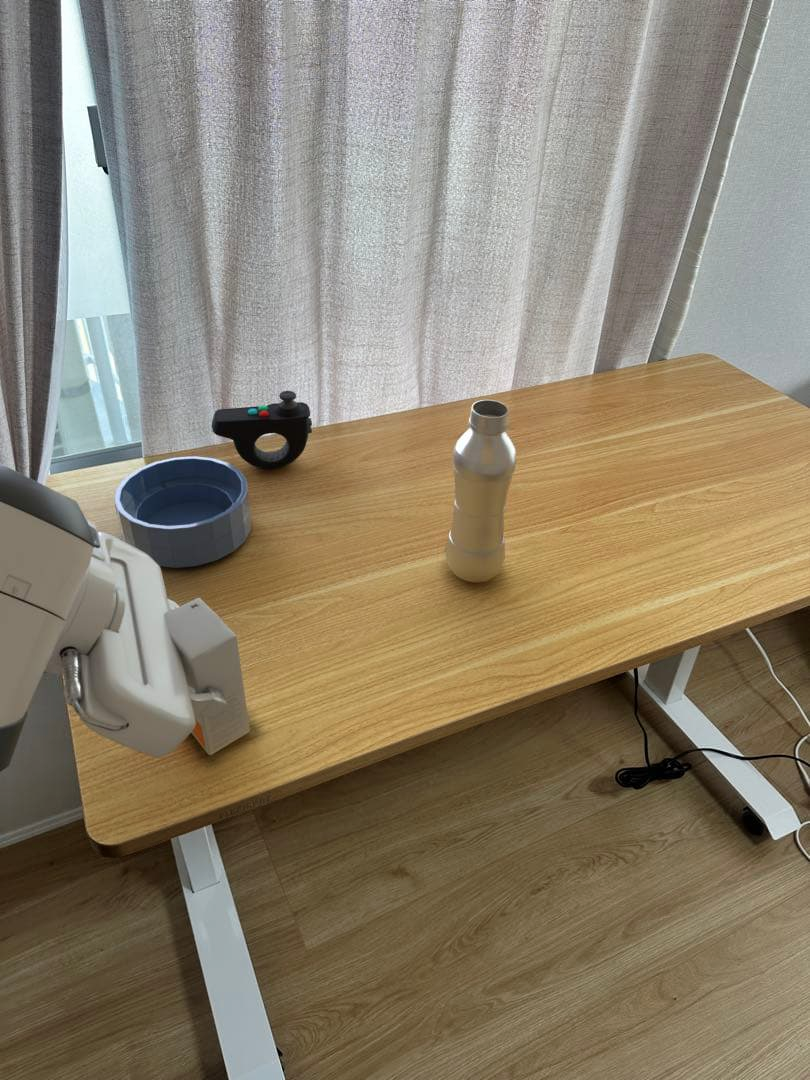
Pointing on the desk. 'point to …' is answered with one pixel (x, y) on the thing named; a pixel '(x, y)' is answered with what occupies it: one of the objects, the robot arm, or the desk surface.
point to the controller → (266, 430)
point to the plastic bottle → (481, 493)
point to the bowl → (184, 510)
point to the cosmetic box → (210, 670)
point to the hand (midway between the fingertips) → (211, 670)
